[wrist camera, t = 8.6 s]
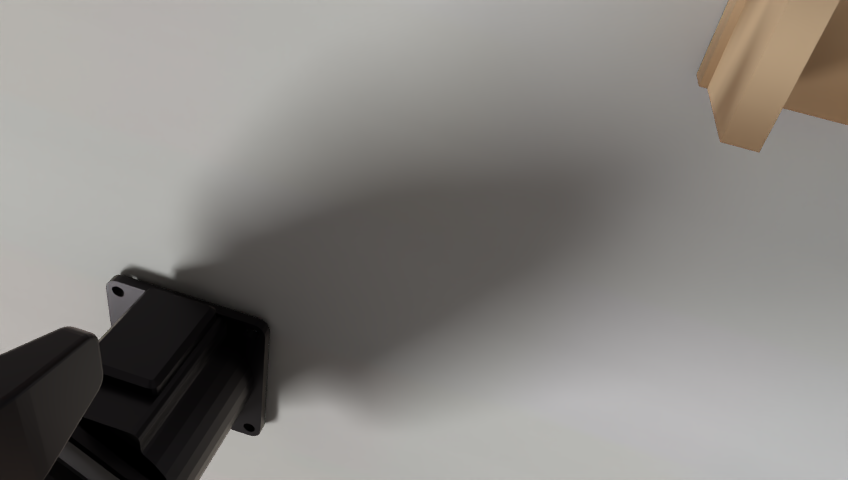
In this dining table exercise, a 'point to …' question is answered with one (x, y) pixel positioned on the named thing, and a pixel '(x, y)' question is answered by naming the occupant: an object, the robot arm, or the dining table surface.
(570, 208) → the dining table surface
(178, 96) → the dining table surface
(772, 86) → the rack
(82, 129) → the dining table surface
